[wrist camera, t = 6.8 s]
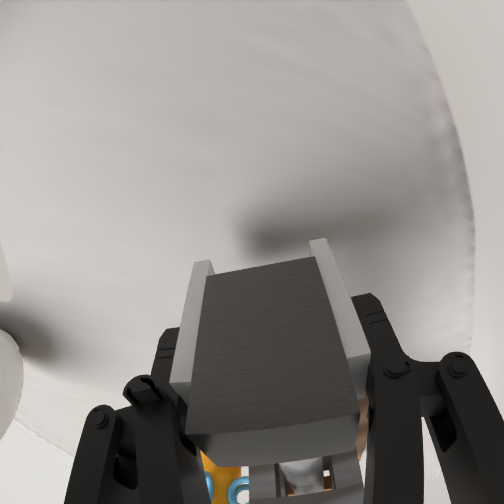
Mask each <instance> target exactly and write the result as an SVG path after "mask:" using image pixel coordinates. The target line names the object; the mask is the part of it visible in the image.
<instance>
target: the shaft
mask: <svg viewBox="0 0 504 504" xmlns="http://www.w3.org/2000/svg"><path fill="white" fill-rule="evenodd" d="M360 414H361V411H360V407H359V403H358V399H357V395H356V391H355V388H354V384H353V380H352V376H351V373H350V369H349V366H348V362H347V358H346V355H345V351H344V348H343V344H342V341H341V338H340V334H339V331H338V327H337V324H336V321H335V318H334V314H333V311H332V308H331V304H330V301H329V298H328V295H327V292H326V289H325V285H324V282H323V279H322V276H321V273H320V270H319V267H318V264H317V261H316V258H315V256H312V257H307V258H302V259H296V260H291V261H286V262H280V263H275V264H270V265H264V266H259V267H254V268H248V269H243V270H237V271H232V272H226V273H221V274H215V275H210V276H206V282H205V288H204V295H203V301H202V307H201V314H200V321H199V327H198V334H197V341H196V348H195V356H194V363H193V370H192V378H191V386H190V394H189V402H188V410H187V419H186V428H185V435H186V436H187V437H188V438H189V439H190V440H191V441H192V442H193V443H194V444H195V445H196V446H197V447H198V448H199V449H200V450H201V451H202V452H203V453H204V454H205V455H206V456H207V457H208V458H209V459H210V460H211V461H212V462H213V463H214V464H215V465H216V466H217V467H241V466H256V465H267V464H277V463H279V465H280V467H281V469H282V471H283V473H284V475H285V476H286V478H287V480H288V482H289V484H290V486H291V488H292V489H293V491H294V493H295V495H303V494H310V493H316V492H322V491H323V490H324V475H323V461H322V457H324V456H329V455H334V454H339V453H344V452H349V451H353V450H354V447H355V442H356V437H357V432H358V426H359V420H360Z"/></svg>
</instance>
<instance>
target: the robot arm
mask: <svg viewBox="0 0 504 504" xmlns="http://www.w3.org/2000/svg"><path fill="white" fill-rule="evenodd" d="M309 242H310V250H311V257H312V256H315V258H316V261H317V264H318V267H319V270H320V273H321V276H322V279H323V282H324V285H325V289H326V292H327V295H328V298H329V301H330V304H331V308H332V311H333V314H334V318H335V321H336V324H337V327H338V331H339V334H340V338H341V341H342V344H343V348H344V351H345V355H346V358H347V362H348V366H349V369H350V373H351V376H352V380H353V384H354V388H355V391H356V395H357V399H358V400H359V399H363V398H365V395H366V393H367V397H368V400H369V406H368V411H367V416H366V418H368V433H367V458H366V474H365V487H364V498H363V504H423V503H424V458H423V436H422V422H421V417H424V419H425V421H426V424H427V427H428V430H429V433H430V436H431V438H432V441H433V444H434V447H435V450H436V453H437V457H438V460H439V463H440V466H441V469H442V472H443V476H444V479H445V483H446V486H447V490H448V493H449V497H450V500H451V504H504V421H503V419H502V416H501V414H500V412H499V410H498V408H497V406H496V403H495V402H494V399H493V397H492V396H491V393H490V391H489V389H488V387H487V385H486V383H485V381H484V379H483V377H482V376H481V374H480V372H479V370H478V368H477V366H476V364H475V363H474V361H473V360H472V359H471V357H470V356H468V355H467V354H465V353H462V352H451V353H448V354H447V355H445V356H444V357H443V358H442V360H441V361H440V362H420V361H416V360H413V359H411V358H410V357H409V356H407V355H406V354H405V353H404V352H403V350H402V349H401V346H400V344H399V342H398V340H397V337H396V335H395V333H394V331H393V328H392V326H391V324H390V322H389V320H388V317H387V315H386V313H385V312H384V309H383V307H382V305H381V303H380V301H379V300H378V299H377V298H376V297H375V296H373V295H372V294H371V293H368V294H363V295H359V296H354V297H350V295H349V292H348V290H347V287H346V285H345V282H344V280H343V277H342V275H341V272H340V270H339V268H338V265H337V263H336V260H335V258H334V256H333V253H332V251H331V249H330V246H329V244H328V242H327V239H326V238H321V239H316V240H310V241H309ZM210 275H215V273H214V270H213V267H212V264H211V261H210V260H205V261H200V262H194V266H193V270H192V274H191V279H190V283H189V288H188V292H187V297H186V301H185V306H184V311H183V315H182V320H181V325H180V327H177V328H169V329H166V330H165V331H164V333H163V334H162V336H161V337H160V339H159V342H158V346H157V351H156V354H155V359H154V363H153V367H152V371H151V375H139V376H137V377H134V378H133V379H132V380H130V381H129V382H128V383H127V385H126V386H125V388H124V391H123V396H124V397H125V398H126V399H127V400H128V401H129V402H130V403H131V404H132V405H131V406H129V407H125V408H122V409H119V410H114V409H113V408H111V407H110V406H108V405H99V406H97V407H95V408H93V409H92V410H91V411H90V412H89V414H88V416H87V418H86V421H85V424H84V428H83V431H82V434H81V438H80V441H79V445H78V448H77V452H76V456H75V459H74V463H73V467H72V471H71V475H70V479H69V483H68V487H67V492H66V496H65V501H64V504H211V499H210V495H209V491H208V486H207V481H206V477H205V472H204V467H203V462H202V457H201V452H200V449H199V448H198V447H197V446H196V445H195V444H194V443H193V442H192V441H191V440H190V439H189V438H188V437H187V436H186V435H185V428H186V419H187V410H188V402H189V394H190V386H191V378H192V370H193V363H194V356H195V348H196V341H197V334H198V327H199V321H200V314H201V307H202V301H203V295H204V288H205V282H206V276H210Z"/></svg>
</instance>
